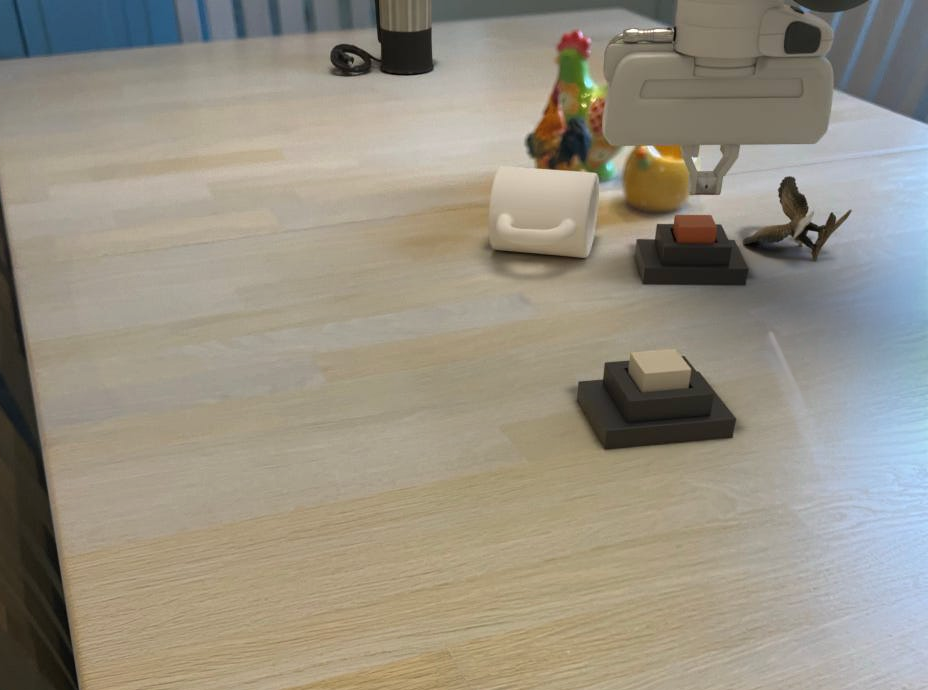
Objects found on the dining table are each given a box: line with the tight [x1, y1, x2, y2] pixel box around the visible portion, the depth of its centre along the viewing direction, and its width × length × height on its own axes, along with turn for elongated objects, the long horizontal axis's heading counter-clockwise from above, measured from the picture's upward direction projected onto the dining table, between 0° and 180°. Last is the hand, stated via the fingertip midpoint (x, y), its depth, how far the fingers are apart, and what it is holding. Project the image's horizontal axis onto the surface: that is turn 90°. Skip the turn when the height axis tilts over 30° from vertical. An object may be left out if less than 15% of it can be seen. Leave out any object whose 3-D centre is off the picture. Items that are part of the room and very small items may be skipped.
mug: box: [487, 165, 600, 259], centre depth 102 cm, size 12×10×8 cm
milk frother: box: [329, 0, 435, 75], centre depth 166 cm, size 14×16×15 cm
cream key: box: [628, 348, 691, 392], centre depth 76 cm, size 4×4×2 cm
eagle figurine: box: [742, 175, 853, 262], centre depth 104 cm, size 8×7×9 cm
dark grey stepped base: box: [634, 223, 750, 287], centre depth 101 cm, size 10×8×4 cm
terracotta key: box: [673, 214, 717, 243], centre depth 99 cm, size 4×4×2 cm
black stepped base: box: [576, 355, 737, 451], centre depth 78 cm, size 10×8×4 cm
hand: (703, 193), depth 97 cm, fingers closed
